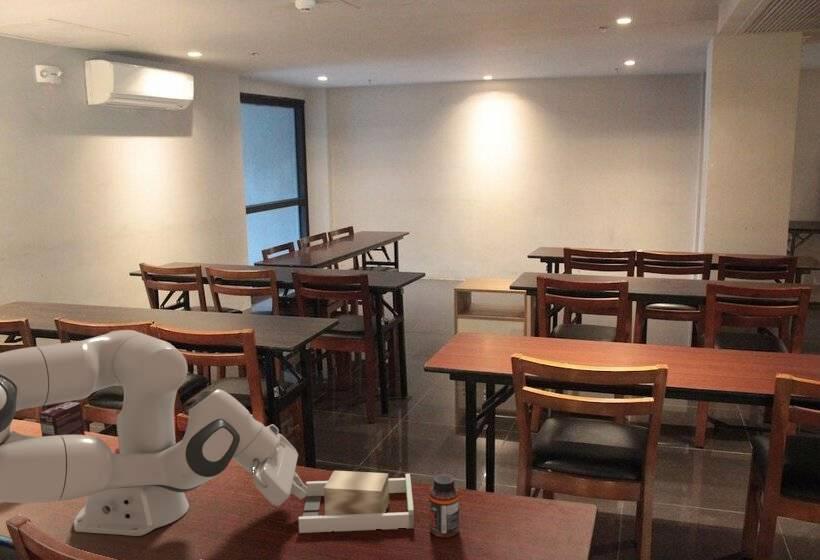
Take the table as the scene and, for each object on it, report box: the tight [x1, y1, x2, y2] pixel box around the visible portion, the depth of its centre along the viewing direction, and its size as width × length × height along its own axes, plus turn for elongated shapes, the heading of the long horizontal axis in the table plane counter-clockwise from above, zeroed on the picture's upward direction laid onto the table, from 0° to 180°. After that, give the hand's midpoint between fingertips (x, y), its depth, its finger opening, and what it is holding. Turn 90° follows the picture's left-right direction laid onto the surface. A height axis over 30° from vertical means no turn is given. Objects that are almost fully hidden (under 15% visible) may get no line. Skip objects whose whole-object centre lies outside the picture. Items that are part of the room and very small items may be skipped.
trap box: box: [298, 473, 415, 534], centre depth 146 cm, size 23×16×4 cm
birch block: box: [323, 470, 390, 516], centre depth 145 cm, size 12×8×7 cm, turn 81°
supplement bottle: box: [428, 473, 460, 539], centre depth 136 cm, size 6×6×11 cm
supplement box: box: [38, 401, 85, 437], centre depth 167 cm, size 9×5×16 cm, turn 159°
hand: (304, 494), depth 145 cm, fingers closed
